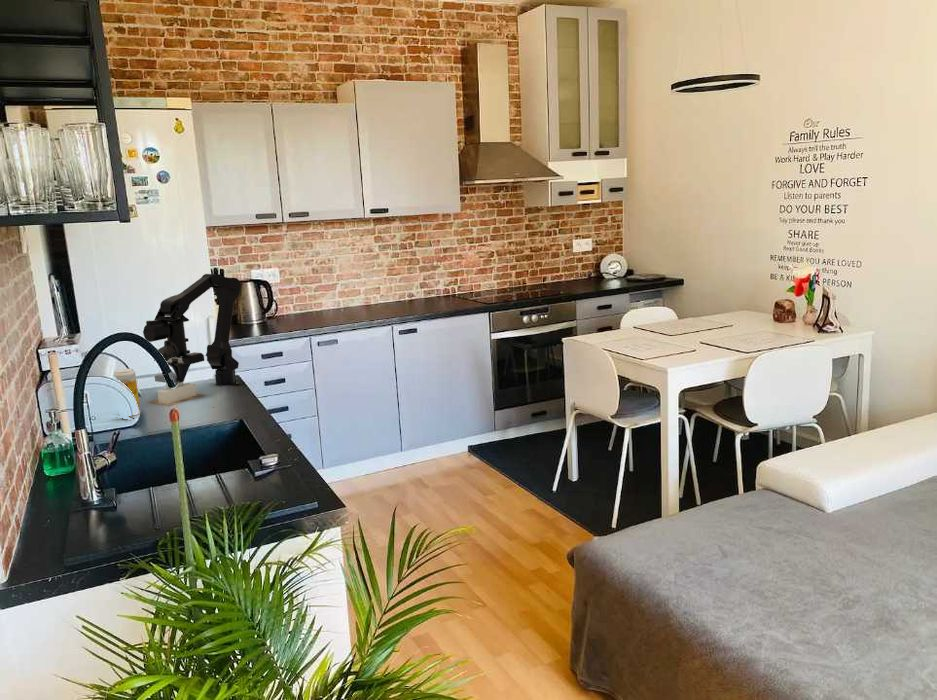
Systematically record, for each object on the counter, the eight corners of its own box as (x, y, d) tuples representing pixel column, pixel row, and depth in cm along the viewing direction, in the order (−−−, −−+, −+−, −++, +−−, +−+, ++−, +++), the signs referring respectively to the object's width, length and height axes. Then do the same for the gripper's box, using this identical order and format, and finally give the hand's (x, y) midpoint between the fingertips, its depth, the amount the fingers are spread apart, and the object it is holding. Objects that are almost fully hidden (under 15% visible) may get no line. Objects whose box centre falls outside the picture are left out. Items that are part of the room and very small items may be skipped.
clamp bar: (161, 379, 258) (160, 374, 257) (182, 382, 252) (181, 376, 252) (155, 381, 256) (154, 375, 255) (176, 383, 250) (176, 378, 250)
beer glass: (119, 421, 227) (112, 373, 224) (120, 416, 232) (113, 369, 230) (140, 418, 229) (134, 371, 226) (141, 413, 235) (135, 367, 232)
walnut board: (182, 394, 257) (182, 391, 257) (206, 397, 251) (206, 394, 251) (145, 405, 244) (144, 402, 244) (169, 409, 239) (169, 406, 238)
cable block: (188, 394, 253) (187, 382, 253) (196, 395, 251) (195, 383, 251) (158, 402, 243) (157, 391, 242) (167, 404, 241) (165, 392, 240)
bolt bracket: (181, 392, 256) (178, 371, 255) (184, 392, 256) (182, 371, 254) (167, 396, 251) (164, 375, 250) (170, 396, 251) (168, 375, 249)
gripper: (137, 339, 245) (143, 385, 248) (175, 342, 236) (181, 389, 239) (165, 333, 255) (170, 377, 258) (202, 336, 246) (208, 381, 249)
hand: (181, 381), depth 251 cm, fingers closed
